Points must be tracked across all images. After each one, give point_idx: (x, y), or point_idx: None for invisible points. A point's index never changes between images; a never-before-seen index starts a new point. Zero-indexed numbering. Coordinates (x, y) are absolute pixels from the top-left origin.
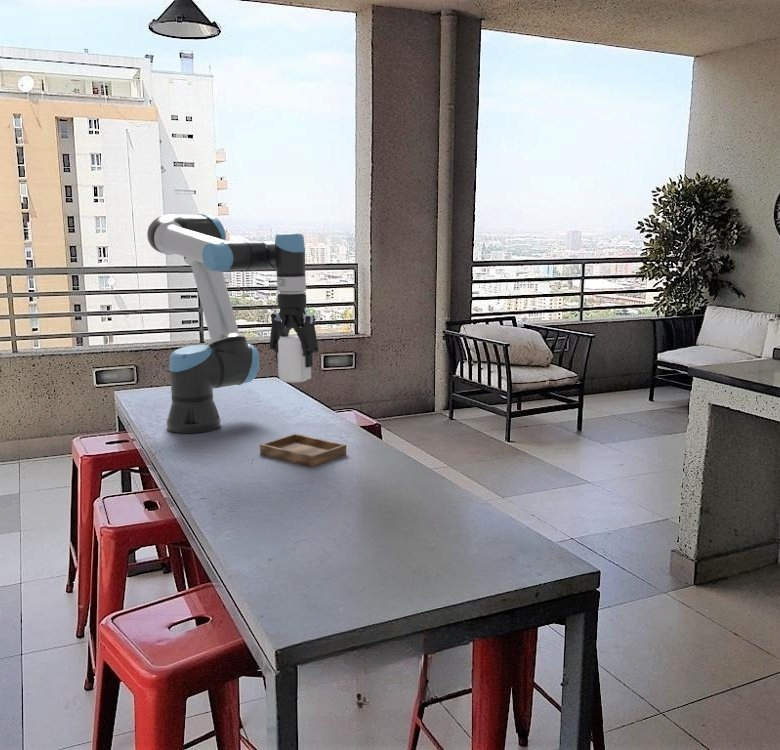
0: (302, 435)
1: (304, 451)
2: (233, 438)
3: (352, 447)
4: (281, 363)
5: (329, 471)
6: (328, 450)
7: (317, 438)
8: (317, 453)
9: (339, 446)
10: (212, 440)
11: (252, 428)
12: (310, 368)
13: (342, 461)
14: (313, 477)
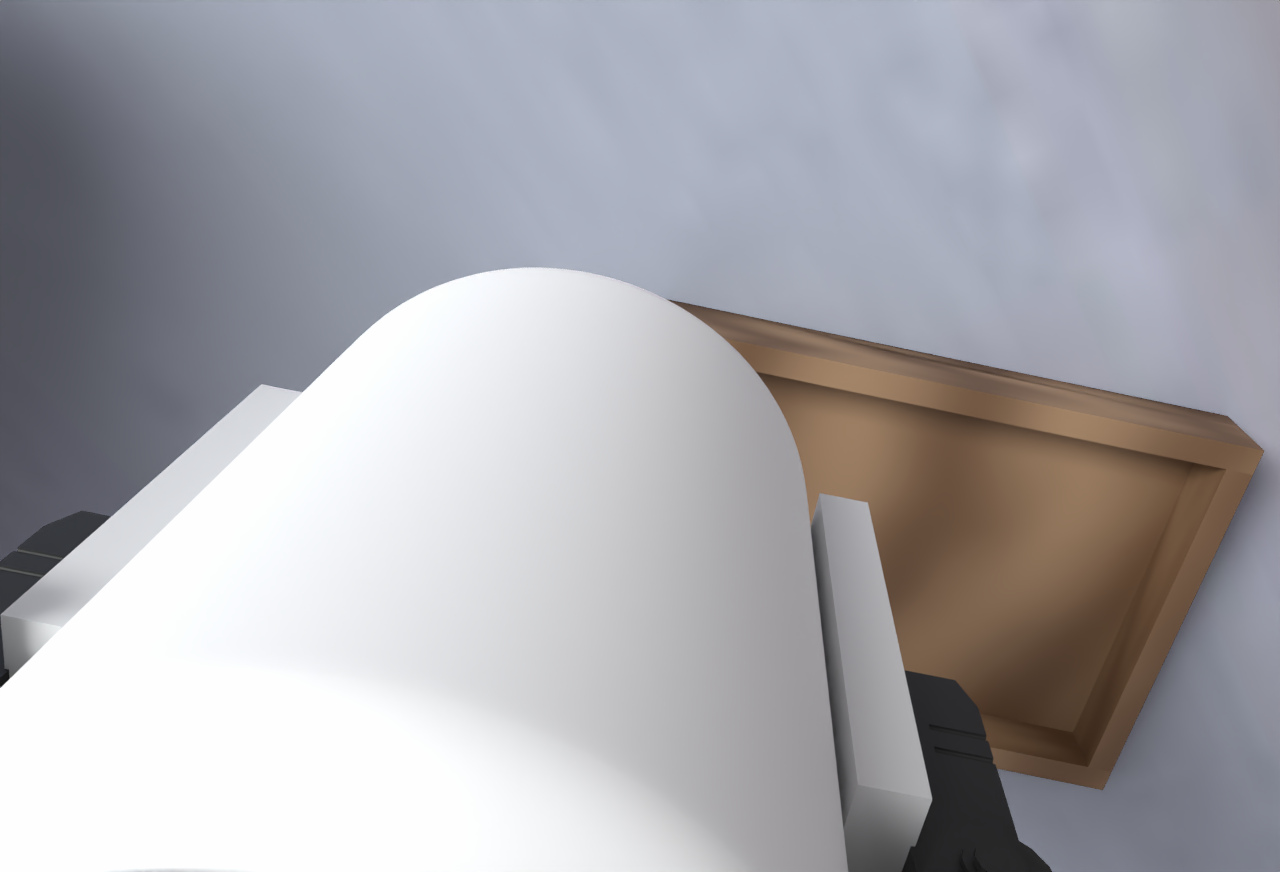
0: (757, 356)
1: (899, 543)
2: (137, 399)
3: (1214, 211)
4: None
5: (1225, 758)
6: (1163, 625)
7: (933, 383)
8: (1021, 549)
9: (1217, 507)
10: (50, 503)
11: (22, 61)
12: (883, 609)
13: (1248, 562)
14: (1163, 869)
